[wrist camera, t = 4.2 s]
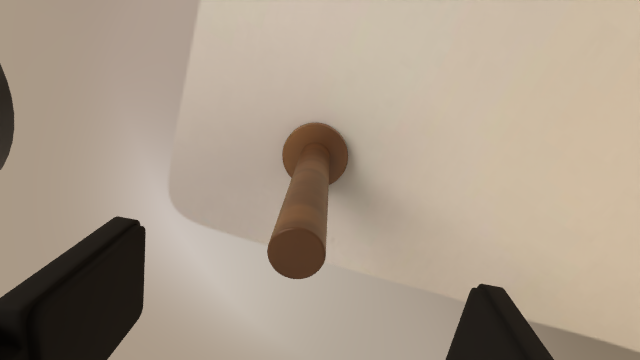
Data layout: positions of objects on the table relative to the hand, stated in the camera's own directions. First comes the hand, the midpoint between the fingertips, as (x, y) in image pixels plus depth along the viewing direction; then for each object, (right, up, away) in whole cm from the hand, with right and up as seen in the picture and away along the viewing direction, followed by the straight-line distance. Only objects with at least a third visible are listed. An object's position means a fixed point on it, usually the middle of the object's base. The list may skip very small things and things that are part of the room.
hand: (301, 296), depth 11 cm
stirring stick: (0, +5, +15) cm, 16 cm away
